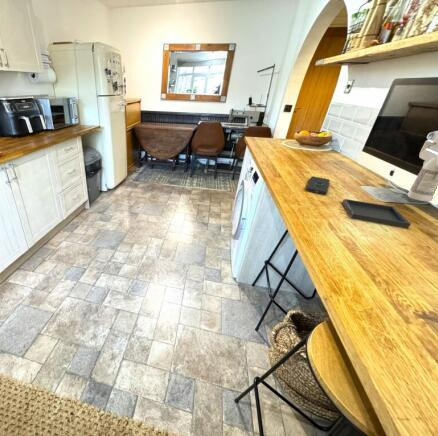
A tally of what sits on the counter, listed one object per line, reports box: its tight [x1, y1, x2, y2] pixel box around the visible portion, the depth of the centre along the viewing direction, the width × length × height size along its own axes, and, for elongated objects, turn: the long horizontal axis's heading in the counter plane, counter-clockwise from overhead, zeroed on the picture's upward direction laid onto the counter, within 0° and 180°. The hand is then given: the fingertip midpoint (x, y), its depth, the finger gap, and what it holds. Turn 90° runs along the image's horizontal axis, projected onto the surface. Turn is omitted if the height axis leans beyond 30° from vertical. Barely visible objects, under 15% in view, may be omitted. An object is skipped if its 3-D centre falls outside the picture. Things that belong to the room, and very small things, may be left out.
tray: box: [341, 198, 412, 229], centre depth 92 cm, size 17×15×2 cm
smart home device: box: [305, 175, 331, 196], centre depth 116 cm, size 8×2×20 cm
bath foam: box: [407, 158, 438, 202], centre depth 87 cm, size 7×7×20 cm
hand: (430, 176), depth 88 cm, fingers closed on bath foam, 7 cm apart
